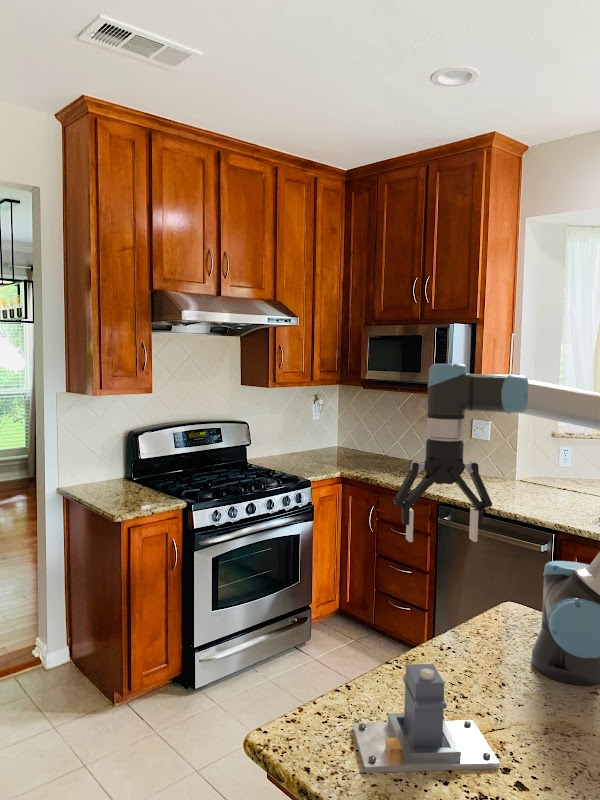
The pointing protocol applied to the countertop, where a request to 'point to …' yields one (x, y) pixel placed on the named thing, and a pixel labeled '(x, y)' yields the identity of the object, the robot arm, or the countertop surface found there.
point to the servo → (423, 706)
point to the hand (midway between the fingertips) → (441, 540)
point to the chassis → (392, 752)
